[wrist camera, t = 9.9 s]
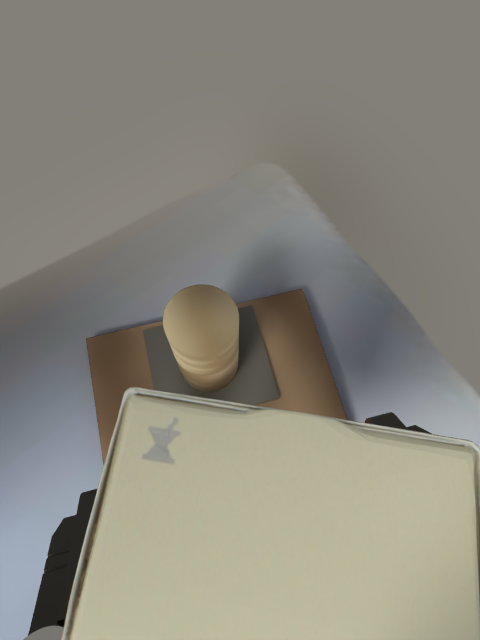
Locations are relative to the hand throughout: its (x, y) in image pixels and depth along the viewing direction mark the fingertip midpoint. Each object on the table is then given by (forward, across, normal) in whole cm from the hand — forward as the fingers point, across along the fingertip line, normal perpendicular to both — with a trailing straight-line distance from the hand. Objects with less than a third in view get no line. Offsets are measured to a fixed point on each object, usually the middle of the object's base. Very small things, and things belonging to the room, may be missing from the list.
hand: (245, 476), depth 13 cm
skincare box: (+4, 0, +6) cm, 7 cm away
